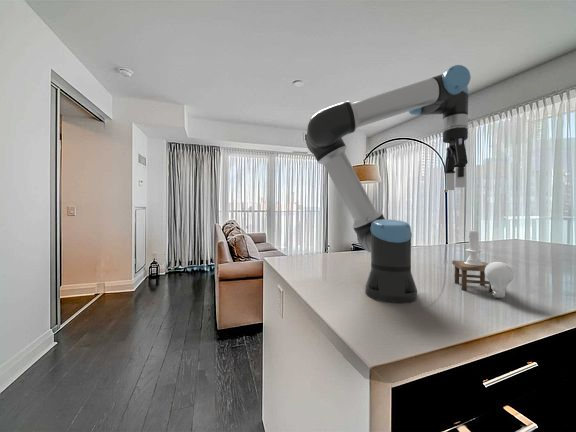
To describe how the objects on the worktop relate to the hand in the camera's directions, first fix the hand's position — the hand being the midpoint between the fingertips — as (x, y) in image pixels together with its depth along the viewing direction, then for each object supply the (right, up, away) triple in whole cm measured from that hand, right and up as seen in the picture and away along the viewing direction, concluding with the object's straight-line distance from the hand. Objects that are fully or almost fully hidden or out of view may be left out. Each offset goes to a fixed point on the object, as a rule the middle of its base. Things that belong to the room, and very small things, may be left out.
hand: (454, 188), depth 89 cm
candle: (+3, -26, -5) cm, 27 cm away
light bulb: (+2, -35, -16) cm, 38 cm away
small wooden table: (+3, -34, -5) cm, 35 cm away
